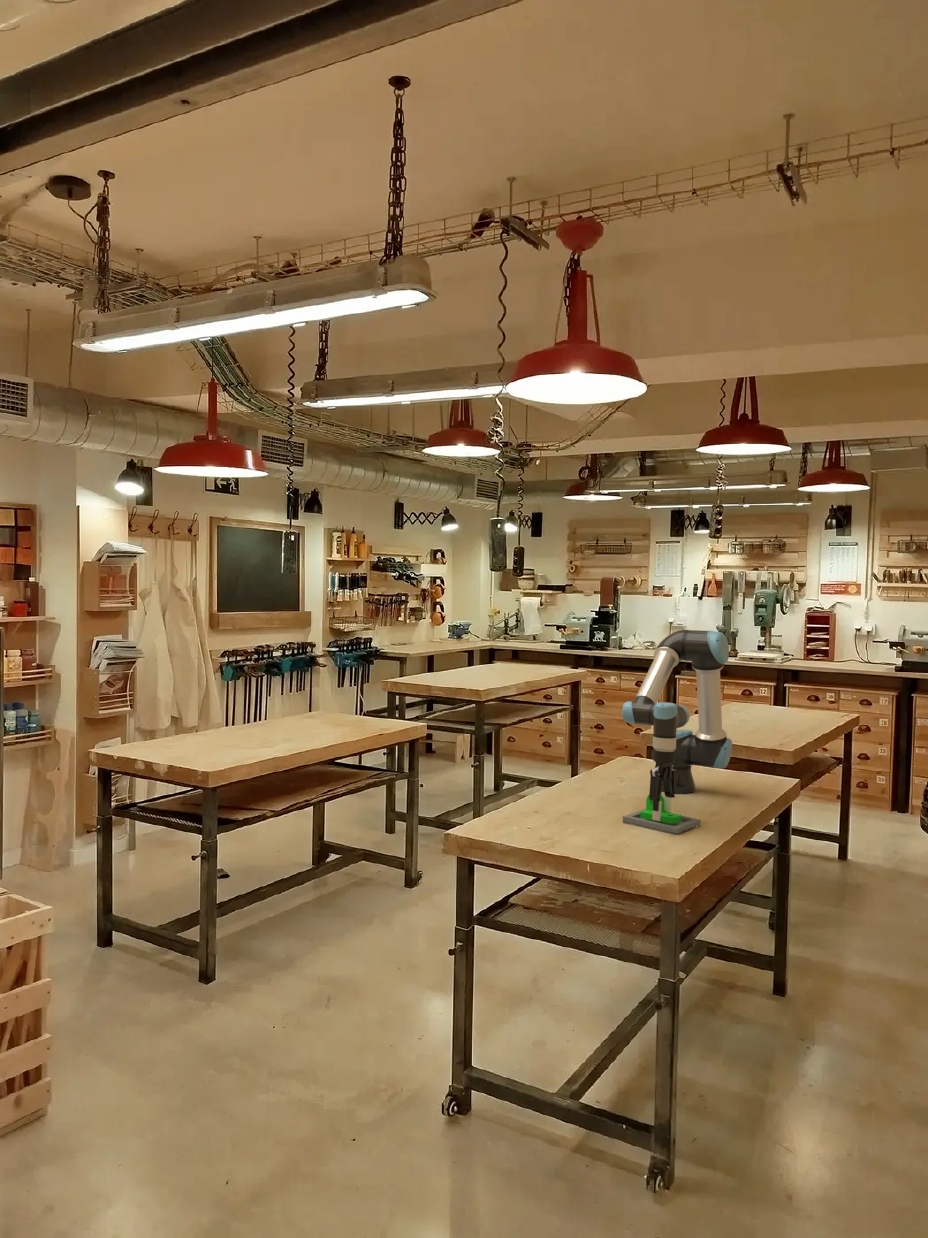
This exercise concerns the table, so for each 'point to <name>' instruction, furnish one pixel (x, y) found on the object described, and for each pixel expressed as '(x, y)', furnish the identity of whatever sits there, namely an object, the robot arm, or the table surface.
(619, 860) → the table surface
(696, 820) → the locating tray
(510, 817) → the table surface
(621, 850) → the table surface
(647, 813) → the mechanical part
